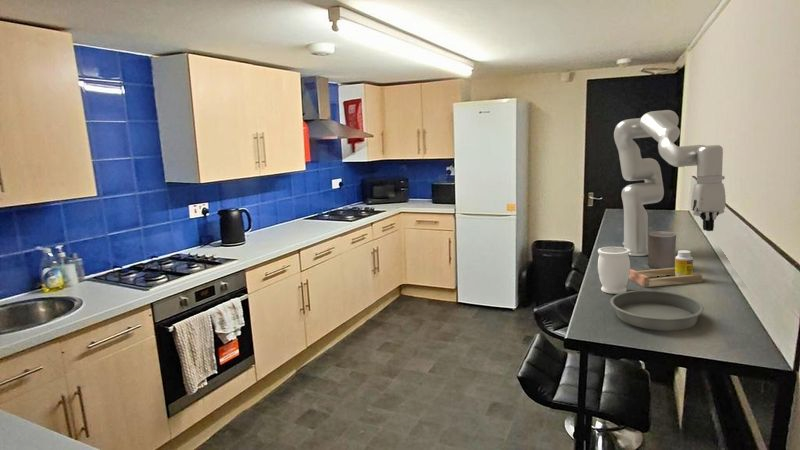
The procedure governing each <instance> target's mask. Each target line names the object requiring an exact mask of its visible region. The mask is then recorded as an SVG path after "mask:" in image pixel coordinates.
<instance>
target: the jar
mask: <svg viewBox="0 0 800 450" xmlns="http://www.w3.org/2000/svg"><path fill="white" fill-rule="evenodd" d="M597 254H598V261H597V272H598V277H599V281H600V283H601V285H602V286H601V288H600V289H601V291H602V292H603V293H607V294H610V295H611V294H612V295H617V294H620V293H623V292H628V289H627V288H626V286H627V285H628V282H629V273H630V269H631V261H630V257H629V255H628V254H630V250H629V249H627V248H624V246H623V247H622V246H604V247H599V248H598V249H597Z"/></svg>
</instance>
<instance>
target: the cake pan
mask: <svg viewBox="0 0 800 450" xmlns="http://www.w3.org/2000/svg"><path fill="white" fill-rule="evenodd" d="M610 304H611V306H612V308H614V309H615V313H616V316H617V318H618V319H619V320H621V321H622V322H624V323H627V324H629V325H631V326H634V327H638V328H642V329H647V330H654V331H680V330H681V331H682V330H686V329H689V328H692V327H694V326H696V324H697V323H698V319H699V316H700V315H702V313H703V312H704V311H705V310H704V309H705V307H704V306H703V304H702V303H701V302H699V301H698V300H696V299H694V298H693V297H689V296H687V295H684V294H680V293H677V292H671V291H665V290H664V291H663V290H654V289H651V290H649V289H648V290H647V289H641V290H639V289H638V290H631V291H629V290H627V291H626V292H623V293H620V294H614V296H612V297H611V298H610Z"/></svg>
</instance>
